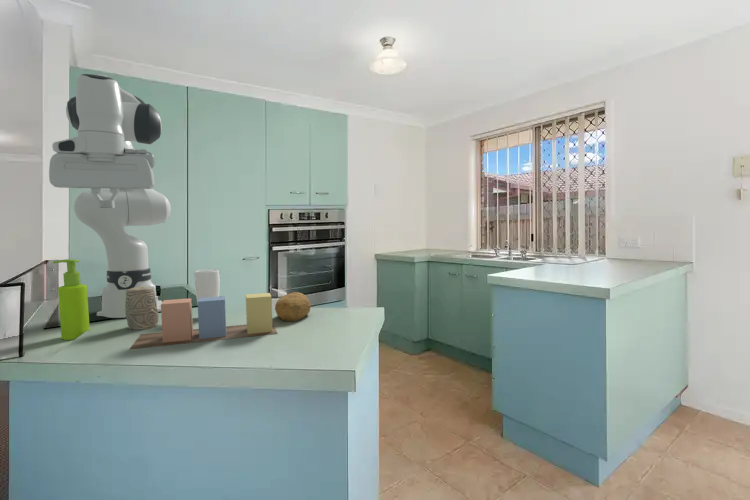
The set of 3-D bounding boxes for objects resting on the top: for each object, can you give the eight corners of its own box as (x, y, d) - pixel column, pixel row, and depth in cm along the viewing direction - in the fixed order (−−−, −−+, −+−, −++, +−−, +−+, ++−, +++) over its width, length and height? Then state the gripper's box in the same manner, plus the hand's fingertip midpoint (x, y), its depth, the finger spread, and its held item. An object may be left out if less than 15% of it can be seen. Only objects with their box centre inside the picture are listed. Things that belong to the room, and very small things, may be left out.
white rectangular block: (212, 324, 113) (210, 272, 112) (191, 323, 115) (189, 271, 113) (225, 318, 120) (224, 269, 119) (205, 317, 121) (203, 268, 120)
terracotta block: (166, 336, 97) (164, 300, 96) (193, 334, 99) (191, 298, 98) (162, 342, 92) (160, 304, 91) (191, 339, 94) (189, 302, 93)
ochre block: (246, 328, 103) (245, 294, 102) (270, 326, 105) (269, 292, 104) (247, 334, 98) (246, 298, 98) (272, 331, 100) (271, 296, 100)
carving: (127, 331, 107) (124, 287, 106) (158, 327, 111) (156, 284, 110) (125, 337, 102) (123, 291, 101) (159, 333, 105) (157, 288, 104)
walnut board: (141, 340, 99) (140, 334, 99) (273, 327, 110) (272, 322, 110) (129, 355, 88) (129, 349, 88) (277, 339, 99) (277, 333, 98)
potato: (267, 328, 109) (267, 299, 108) (284, 315, 123) (283, 290, 122) (302, 328, 108) (302, 299, 108) (315, 316, 122) (314, 290, 122)
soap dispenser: (70, 333, 106) (64, 258, 104) (95, 333, 105) (90, 258, 104) (51, 340, 100) (45, 260, 98) (78, 340, 100) (72, 260, 98)
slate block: (200, 333, 99) (199, 297, 99) (226, 330, 101) (224, 296, 101) (199, 338, 95) (197, 301, 94) (226, 336, 97) (224, 299, 96)
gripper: (156, 151, 98) (159, 208, 99) (55, 147, 91) (60, 208, 92) (151, 147, 92) (154, 208, 93) (43, 143, 85) (48, 207, 86)
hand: (106, 208), depth 93 cm, fingers closed
